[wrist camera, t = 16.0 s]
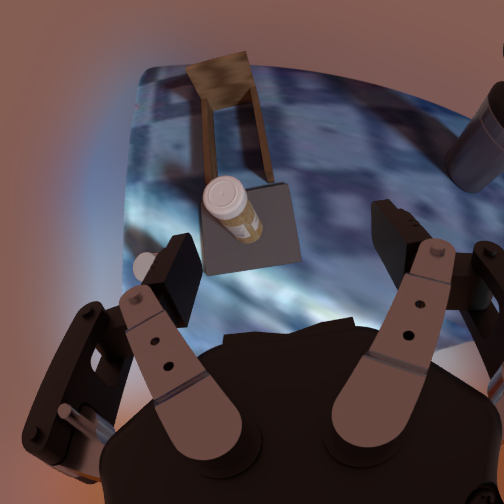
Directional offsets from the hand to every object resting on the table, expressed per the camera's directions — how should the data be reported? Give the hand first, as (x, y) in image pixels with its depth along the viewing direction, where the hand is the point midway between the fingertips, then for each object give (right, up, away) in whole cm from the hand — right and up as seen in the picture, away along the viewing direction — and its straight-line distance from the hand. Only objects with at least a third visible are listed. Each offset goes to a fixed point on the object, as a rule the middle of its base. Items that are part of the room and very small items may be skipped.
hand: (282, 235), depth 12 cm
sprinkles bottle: (-2, +3, +30) cm, 30 cm away
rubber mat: (-2, +3, +31) cm, 31 cm away
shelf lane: (-4, +18, +34) cm, 39 cm away
